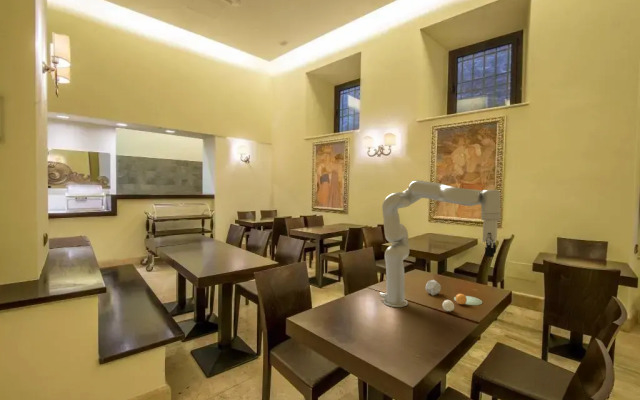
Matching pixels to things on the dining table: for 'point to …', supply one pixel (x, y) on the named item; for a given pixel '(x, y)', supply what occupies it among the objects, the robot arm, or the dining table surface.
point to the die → (433, 287)
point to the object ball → (461, 298)
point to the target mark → (472, 301)
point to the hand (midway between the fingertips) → (490, 254)
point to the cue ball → (448, 305)
